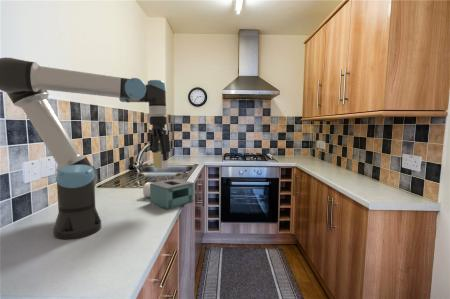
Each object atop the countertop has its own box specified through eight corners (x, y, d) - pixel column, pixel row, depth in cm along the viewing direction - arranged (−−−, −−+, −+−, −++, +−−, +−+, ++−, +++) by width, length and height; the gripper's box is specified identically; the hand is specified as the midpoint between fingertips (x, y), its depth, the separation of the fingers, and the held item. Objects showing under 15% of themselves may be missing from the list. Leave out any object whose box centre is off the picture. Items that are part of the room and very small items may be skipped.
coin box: (167, 209, 117) (166, 188, 116) (150, 203, 126) (150, 183, 125) (193, 202, 129) (193, 182, 128) (176, 196, 138) (176, 178, 137)
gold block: (167, 167, 115) (166, 152, 114) (161, 168, 113) (160, 153, 112) (159, 166, 119) (159, 151, 118) (154, 167, 117) (153, 152, 116)
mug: (160, 200, 131) (160, 185, 131) (143, 199, 133) (142, 184, 133) (170, 194, 143) (169, 180, 142) (153, 193, 145) (153, 179, 144)
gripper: (177, 115, 109) (179, 168, 112) (154, 116, 123) (156, 163, 125) (162, 115, 104) (164, 170, 107) (139, 116, 117) (142, 165, 120)
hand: (160, 166), depth 116 cm, fingers closed on gold block, 6 cm apart
